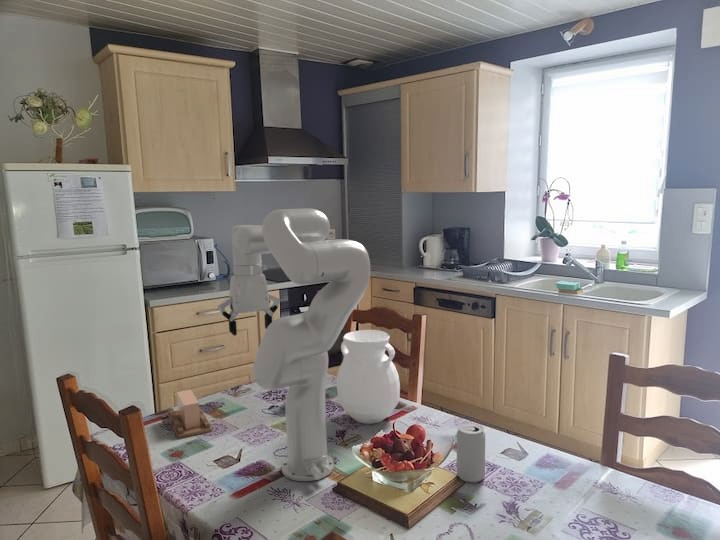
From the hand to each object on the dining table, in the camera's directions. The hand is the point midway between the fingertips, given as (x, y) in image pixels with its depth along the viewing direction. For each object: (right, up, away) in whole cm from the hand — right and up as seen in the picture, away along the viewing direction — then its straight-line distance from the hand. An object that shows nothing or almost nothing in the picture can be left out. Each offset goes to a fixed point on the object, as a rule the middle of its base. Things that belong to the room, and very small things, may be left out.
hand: (251, 331), depth 148 cm
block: (-20, -27, +9) cm, 35 cm away
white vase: (+33, -27, +10) cm, 43 cm away
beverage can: (+56, -31, -24) cm, 68 cm away
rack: (-20, -28, +9) cm, 35 cm away
